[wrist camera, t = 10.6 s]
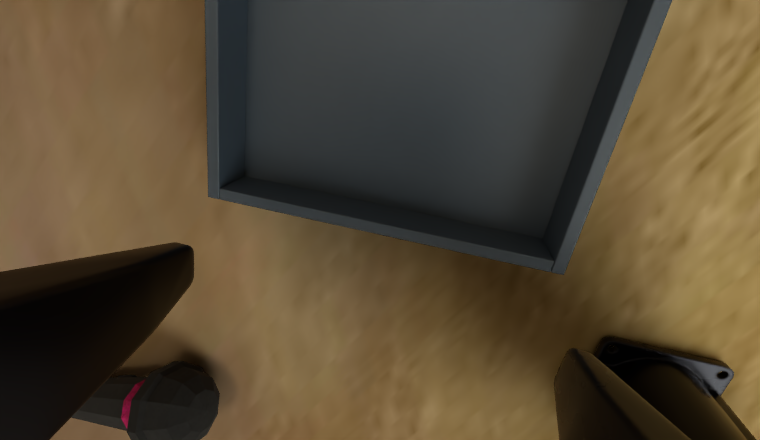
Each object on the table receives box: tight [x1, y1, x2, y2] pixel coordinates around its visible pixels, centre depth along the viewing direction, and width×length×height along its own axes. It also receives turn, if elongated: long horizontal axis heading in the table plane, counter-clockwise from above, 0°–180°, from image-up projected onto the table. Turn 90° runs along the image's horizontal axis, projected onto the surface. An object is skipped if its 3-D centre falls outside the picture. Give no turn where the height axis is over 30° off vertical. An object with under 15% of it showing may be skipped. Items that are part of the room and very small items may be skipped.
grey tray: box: [205, 0, 672, 275], centre depth 17 cm, size 17×13×3 cm
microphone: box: [72, 361, 220, 440], centre depth 28 cm, size 6×6×20 cm
